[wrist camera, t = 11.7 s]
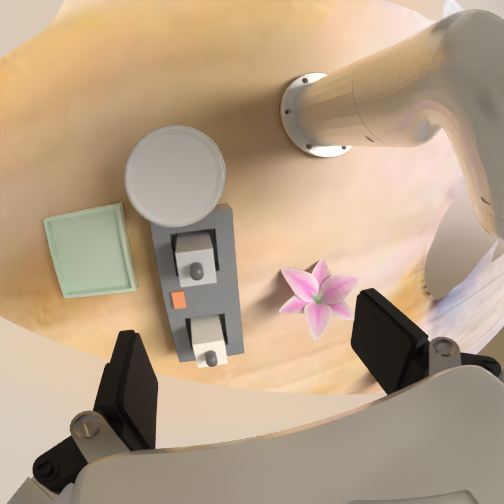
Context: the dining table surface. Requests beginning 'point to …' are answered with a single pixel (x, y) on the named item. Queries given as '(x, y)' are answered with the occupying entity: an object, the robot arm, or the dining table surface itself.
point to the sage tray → (91, 251)
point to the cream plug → (208, 341)
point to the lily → (319, 296)
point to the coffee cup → (175, 176)
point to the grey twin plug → (195, 258)
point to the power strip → (201, 296)
